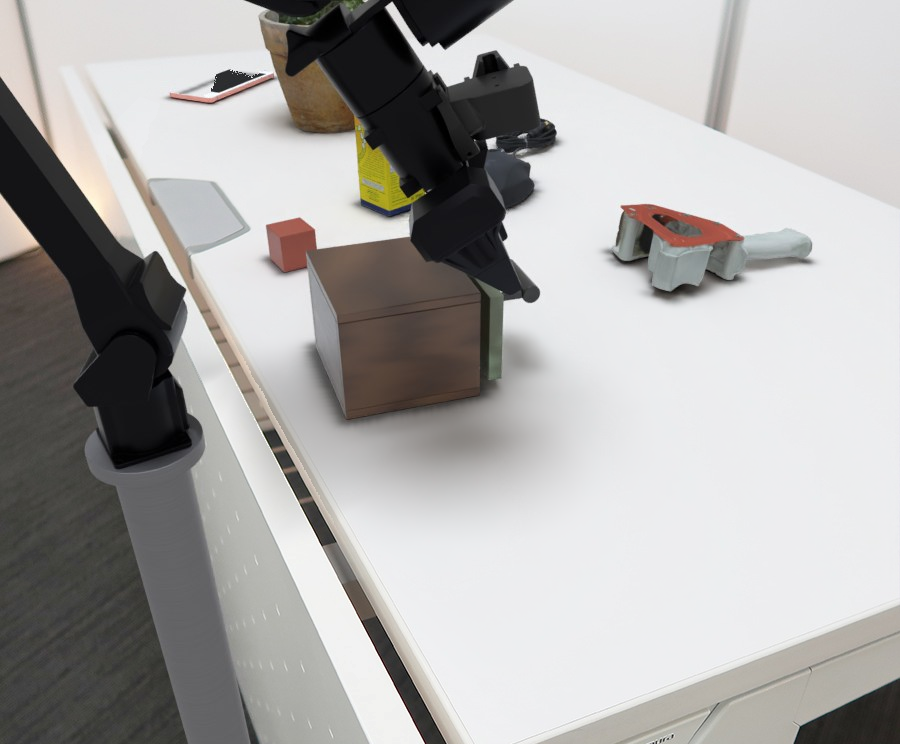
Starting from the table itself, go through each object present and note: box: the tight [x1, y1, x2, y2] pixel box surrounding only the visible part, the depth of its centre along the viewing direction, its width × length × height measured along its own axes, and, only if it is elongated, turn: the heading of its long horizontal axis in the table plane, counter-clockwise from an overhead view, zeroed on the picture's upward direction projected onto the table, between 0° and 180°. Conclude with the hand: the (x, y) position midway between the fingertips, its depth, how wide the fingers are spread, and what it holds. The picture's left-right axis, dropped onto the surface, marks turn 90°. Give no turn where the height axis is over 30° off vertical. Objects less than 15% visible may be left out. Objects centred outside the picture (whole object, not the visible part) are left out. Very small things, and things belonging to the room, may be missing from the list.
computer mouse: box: [484, 117, 558, 209], centre depth 122 cm, size 9×32×6 cm, turn 162°
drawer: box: [465, 258, 541, 381], centre depth 80 cm, size 15×11×8 cm
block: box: [265, 216, 318, 273], centre depth 99 cm, size 4×4×4 cm
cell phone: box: [169, 68, 275, 103], centre depth 158 cm, size 9×18×1 cm, turn 154°
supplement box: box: [354, 115, 426, 217], centre depth 111 cm, size 6×6×11 cm
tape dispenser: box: [611, 203, 813, 292], centre depth 97 cm, size 18×5×20 cm
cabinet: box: [306, 236, 481, 420], centre depth 79 cm, size 12×13×10 cm
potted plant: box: [257, 0, 366, 134], centre depth 134 cm, size 18×19×25 cm
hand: (509, 264), depth 71 cm, fingers open, 9 cm apart
